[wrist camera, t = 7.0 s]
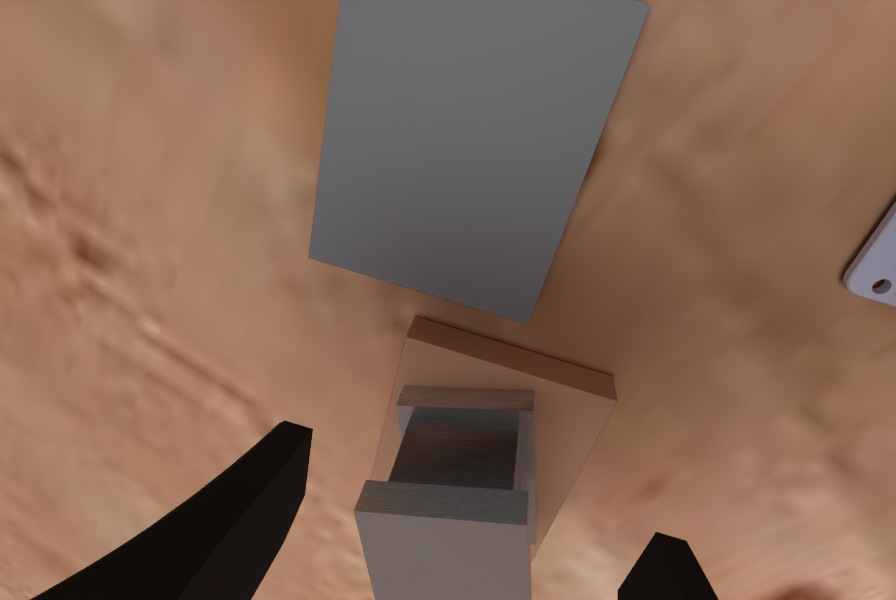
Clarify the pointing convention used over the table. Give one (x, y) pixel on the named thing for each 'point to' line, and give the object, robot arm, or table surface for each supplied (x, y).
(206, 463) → the table surface
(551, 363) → the stand
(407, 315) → the table surface
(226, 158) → the table surface
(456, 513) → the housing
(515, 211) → the stand
